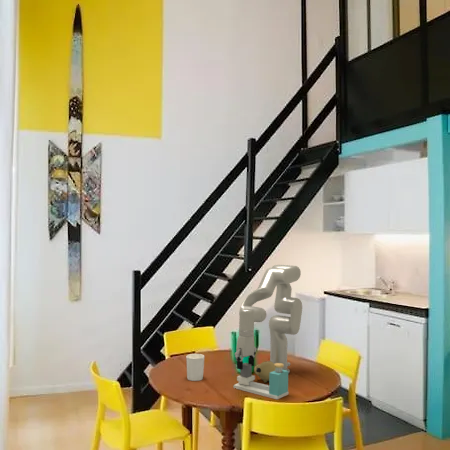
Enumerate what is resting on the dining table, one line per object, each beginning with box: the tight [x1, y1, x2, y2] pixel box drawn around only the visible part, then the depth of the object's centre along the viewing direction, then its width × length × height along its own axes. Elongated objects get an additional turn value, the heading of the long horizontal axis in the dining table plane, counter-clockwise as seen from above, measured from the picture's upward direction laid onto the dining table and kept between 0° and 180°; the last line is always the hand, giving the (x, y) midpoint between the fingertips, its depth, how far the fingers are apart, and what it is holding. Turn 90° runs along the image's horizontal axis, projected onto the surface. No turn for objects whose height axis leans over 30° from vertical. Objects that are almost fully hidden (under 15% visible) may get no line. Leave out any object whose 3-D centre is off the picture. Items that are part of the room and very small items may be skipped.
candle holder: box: [185, 353, 205, 382], centre depth 267 cm, size 10×10×12 cm
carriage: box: [236, 362, 256, 385], centre depth 254 cm, size 7×6×10 cm
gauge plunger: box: [274, 363, 284, 373], centre depth 242 cm, size 4×4×7 cm
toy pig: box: [253, 360, 276, 384], centre depth 264 cm, size 10×12×11 cm
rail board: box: [233, 370, 289, 400], centre depth 248 cm, size 10×26×12 cm, turn 52°
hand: (245, 367), depth 253 cm, fingers open, 9 cm apart
